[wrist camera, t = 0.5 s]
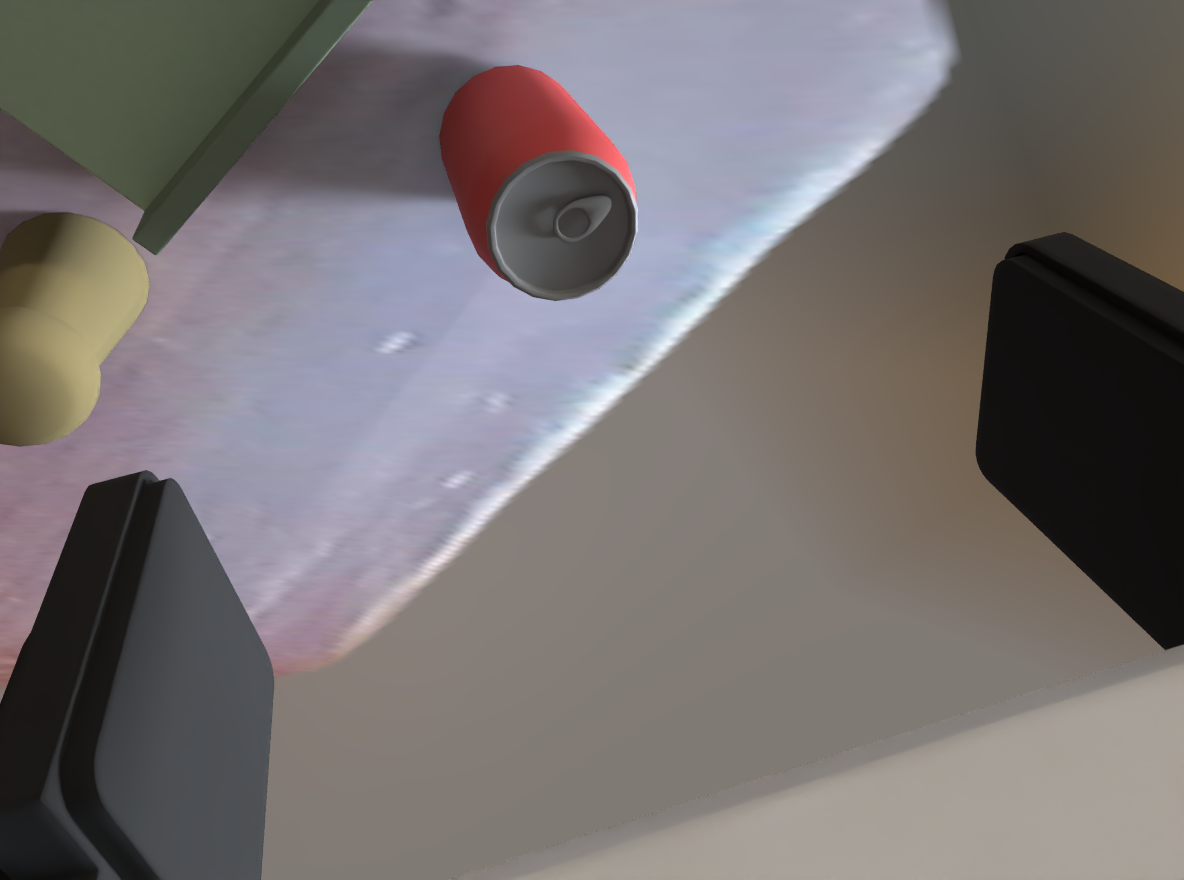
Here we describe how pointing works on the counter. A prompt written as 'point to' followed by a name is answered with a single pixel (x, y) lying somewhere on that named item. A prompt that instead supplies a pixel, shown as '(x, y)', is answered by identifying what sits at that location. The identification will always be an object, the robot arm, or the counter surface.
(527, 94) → the beer can
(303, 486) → the counter surface
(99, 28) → the shelf
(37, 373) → the cork
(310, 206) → the counter surface
